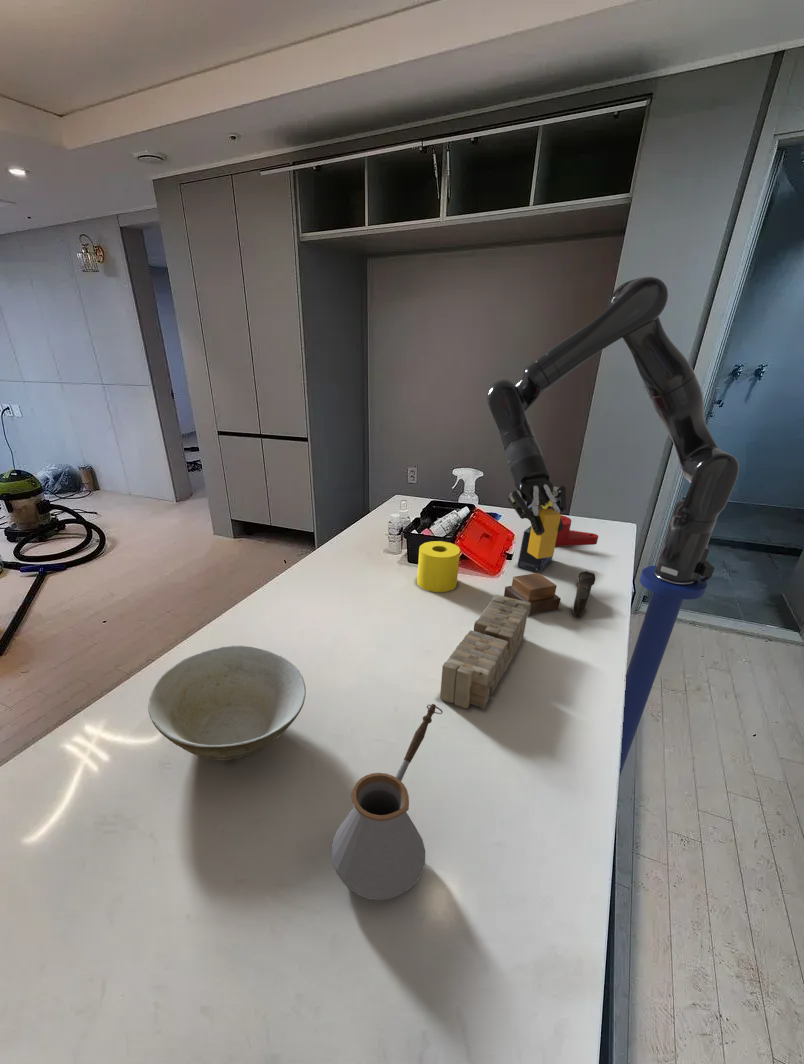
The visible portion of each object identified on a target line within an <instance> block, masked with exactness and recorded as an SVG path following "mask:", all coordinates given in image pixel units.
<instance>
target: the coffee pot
mask: <svg viewBox="0 0 804 1064" xmlns="http://www.w3.org/2000/svg"><path fill="white" fill-rule="evenodd" d="M426 708H427V713H426V715H424V716H422V721H421V723H420V725H418V726H419V727H418V728H417V729H416V731H415V732H414V735H413V736H412V739H411V741H410V744H409V746H408V749H407V752H406V753H405V756H404V758H403V762H402V763H401V765H400V767H399V769H398V771H397V773H396V775H395V776H394V775H392V774H389V773H386V772H373V773H372V772H371V773H369V774H366V775H364V776H362V777H360V778H359V779H358V781H356V783H354V786H353V787H352V790H351V795H350V796H351V802H352V804H353V808H352V809H351V810H350V811H349V813H348V814H347V816H346V818H344V820H343V822H342V823H341V825H340V826H339V827H338V829H337V831H336V833H335V835H334V836H333V839H332V845H331V849H330V851H331V852H330V853H331V862H332V865H333V867H334V871H335V873H336V875H337V877H338V878H339V879H340V880H341V882H342V883H343V884H344V885H345V886H346V887H347V888H348V889H350V891H352V892H353V893H354V894H356V895H359V896H361V897H363V898H366V899H369V900H370V899H371V900H376V901H383V900H391V899H394V898H396V897H398V896H401V895H403V894H404V893H406V892H407V891H408V890H409V889H411V888H412V887H413V886H415V884H416V883H417V882H418V880H419V879H420V877H421V876H422V873H423V870H424V868H425V865H426V848H425V844H424V840H423V837H422V836H421V834H420V833H419V831H418V829H417V827H416V826H415V824H414V822H413V820H412V818H411V817H410V816H409V814H408V811H409V807H410V796H409V791H408V789H407V787H406V786H405V784H404V783H403V778H404V777H405V774H406V773H407V770H408V767H409V765H410V764H411V762H412V760H413V759H414V757H415V755H416V753H417V751H418V749H419V748H420V746H421V744H422V742H423V740H424V738H425V735H426V733H427V730H428V727H429V724H431V723H432V721H433V720H432V717H433V715H434V714H437V715H442V714H443V712H444V711H443V709H441V708H440V707H439V706H437V705H436V703H435V704H434V703H432V704H427V705H426ZM436 709H437V710H439V711H440V712H438V711H436Z"/></svg>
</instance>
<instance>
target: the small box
mask: <svg viewBox="0 0 804 1064" xmlns="http://www.w3.org/2000/svg"><path fill="white" fill-rule="evenodd" d="M531 527H532V525H530V526H529V527H527V528H526V529H525V530H524V531H523V534H522V538H521V539H522V540H521V545H520V551H519V556H518V561H517V565H516V567H518V568H522V569H525V570H529V571H532V572H534V573H540V572H541V571H542V570H543V569H544V568H545V567H546V566H547V565H548V564H549V563H550V562H551V561H552V560H553V557H547V558H540V559H537V558H535V557H534V556H532V555H531V554H529V553H528V552H527V550H528V544H529V538H530V533H531Z"/></svg>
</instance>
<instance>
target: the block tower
mask: <svg viewBox="0 0 804 1064" xmlns="http://www.w3.org/2000/svg"><path fill="white" fill-rule="evenodd" d="M530 607H531V603H529V602H525V601H521V600H516V599H512V598H508V597H504V595H499V594H495V595H494V596H493V598H492V599H491V601H490V602H489V604H488V605H487V606H486V608H485V609H484V610H483V612H481V614H480V615H479V617H478V619H476V620H475V621H474V626H473V630H469V631H468V633H467V634H465V635H464V638H463V639H462V640H461V641H460V642H459V644H458V645H457V646H456V648H455V649H454V650H453V652H452V653H451V654H450V655H449V658H448V659H447V660H446V661H445V662H443V664H442V668H441V681H440V692H439V693H440V694H439V699H440V700H442V701H444V702H447V703H451V704H454V705H455V706H457V707H461V708H462V709H463V708H464V709H468V708H469V707H470V705H473V706H476V707H478V708H481V709H485V707H486V706H487V704H488V701H489V699H490V695H492V694H493V693H494V691H495V690H496V688H497V685H498V684H499V682H500V680H501V679H502V677H503V675H504V674H505V672H506V670H507V669H508V667H509V665H510V663H511V661H512V660H513V657H514V656H515V655H516V653H517V650H518V649H519V646H520V645H521V643H522V640H523V639H524V634H525V630H526V625H527V620H528V616H529V613H530Z"/></svg>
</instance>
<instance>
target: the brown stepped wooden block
mask: <svg viewBox="0 0 804 1064" xmlns="http://www.w3.org/2000/svg"><path fill="white" fill-rule="evenodd" d="M556 592H557V584H555V583H554V582H553V581H551V580H549V579H548V578H547V577H545V576H544V575H543V574H541V573H540V572H534V573H527V574H521V575H516V576H512V582H511V585H508V586H505V587H504V592H503V596H504V597H508V598H512V599H516V600H521V601H525V602H529V603H531V607H530V613H529V615H536V614H541V613H546V612H552V611H558V610H559V608H560V605H561V600H562V599H561V597H560V596H558V595H557V594H556ZM529 615H528V616H529Z"/></svg>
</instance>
